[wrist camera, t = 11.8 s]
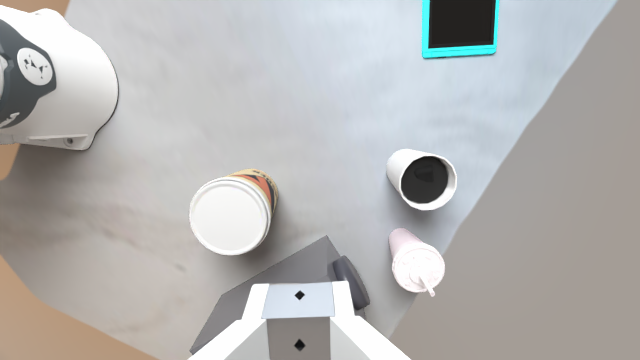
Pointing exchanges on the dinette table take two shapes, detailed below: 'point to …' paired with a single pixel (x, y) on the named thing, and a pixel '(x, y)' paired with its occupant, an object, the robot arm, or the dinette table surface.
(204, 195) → the coffee cup
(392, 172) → the white cylindrical cup
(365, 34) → the dinette table surface
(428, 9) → the handheld game console
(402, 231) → the smoothie
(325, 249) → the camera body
